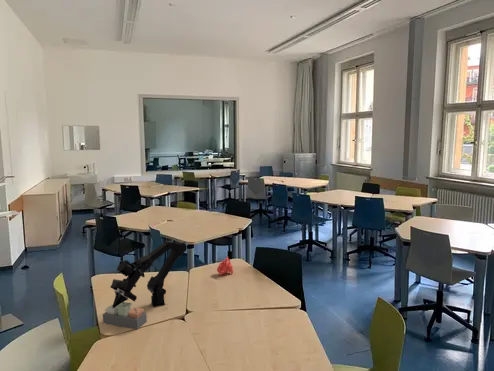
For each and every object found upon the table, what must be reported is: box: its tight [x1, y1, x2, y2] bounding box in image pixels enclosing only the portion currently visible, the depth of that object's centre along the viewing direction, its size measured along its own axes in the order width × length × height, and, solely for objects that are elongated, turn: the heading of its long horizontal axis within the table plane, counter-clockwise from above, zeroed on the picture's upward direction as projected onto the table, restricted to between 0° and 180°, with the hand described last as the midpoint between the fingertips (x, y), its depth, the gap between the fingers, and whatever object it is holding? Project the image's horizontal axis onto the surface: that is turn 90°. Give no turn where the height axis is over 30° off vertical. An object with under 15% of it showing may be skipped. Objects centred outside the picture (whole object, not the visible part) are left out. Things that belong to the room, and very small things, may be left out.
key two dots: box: [116, 301, 133, 316], centre depth 192 cm, size 6×6×7 cm
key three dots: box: [128, 307, 145, 318], centre depth 190 cm, size 6×6×7 cm
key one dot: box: [104, 304, 118, 314], centre depth 194 cm, size 6×6×7 cm
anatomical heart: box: [216, 256, 234, 276], centre depth 257 cm, size 9×12×12 cm
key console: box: [102, 311, 148, 330], centre depth 192 cm, size 8×21×5 cm, turn 71°
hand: (113, 306), depth 194 cm, fingers closed, pressing on key one dot
